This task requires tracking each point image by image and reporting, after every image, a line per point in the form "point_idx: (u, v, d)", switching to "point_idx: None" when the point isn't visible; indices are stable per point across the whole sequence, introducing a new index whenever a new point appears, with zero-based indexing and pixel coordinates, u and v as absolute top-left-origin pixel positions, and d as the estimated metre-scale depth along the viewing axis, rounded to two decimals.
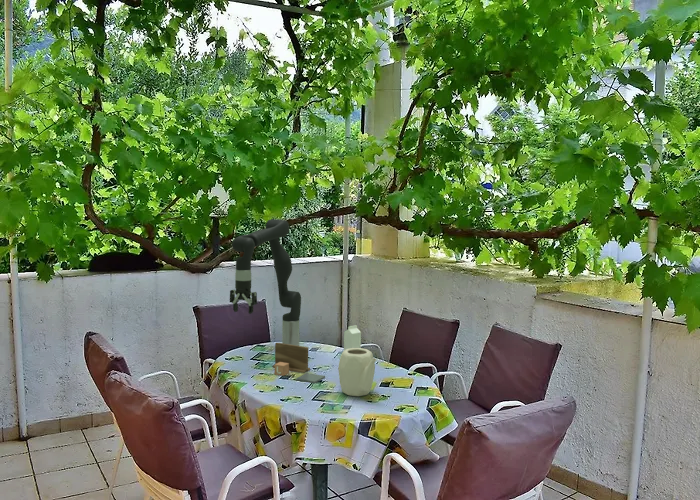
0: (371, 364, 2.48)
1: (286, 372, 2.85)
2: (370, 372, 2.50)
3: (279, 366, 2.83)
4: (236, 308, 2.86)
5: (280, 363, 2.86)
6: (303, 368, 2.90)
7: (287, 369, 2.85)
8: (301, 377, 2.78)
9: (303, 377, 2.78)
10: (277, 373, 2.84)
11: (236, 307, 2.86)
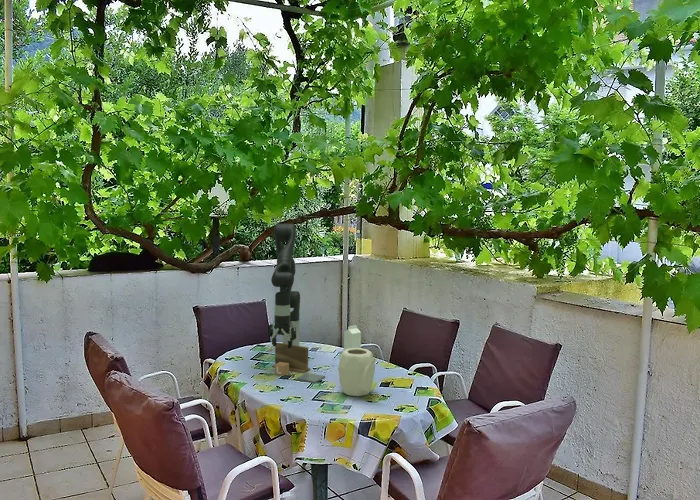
0: (371, 364, 2.48)
1: (286, 372, 2.85)
2: (370, 372, 2.50)
3: (279, 366, 2.83)
4: (275, 342, 2.86)
5: (280, 363, 2.86)
6: (303, 368, 2.90)
7: (287, 369, 2.85)
8: (301, 377, 2.78)
9: (303, 377, 2.78)
10: (277, 373, 2.84)
11: (275, 342, 2.86)
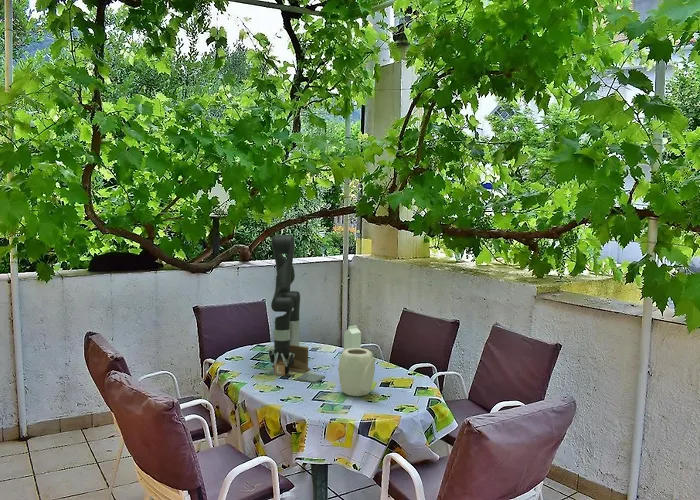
0: (371, 364, 2.48)
1: None
2: (370, 372, 2.50)
3: (279, 366, 2.83)
4: None
5: (280, 363, 2.86)
6: (303, 368, 2.90)
7: None
8: (301, 377, 2.78)
9: (303, 377, 2.78)
10: (277, 373, 2.84)
11: None
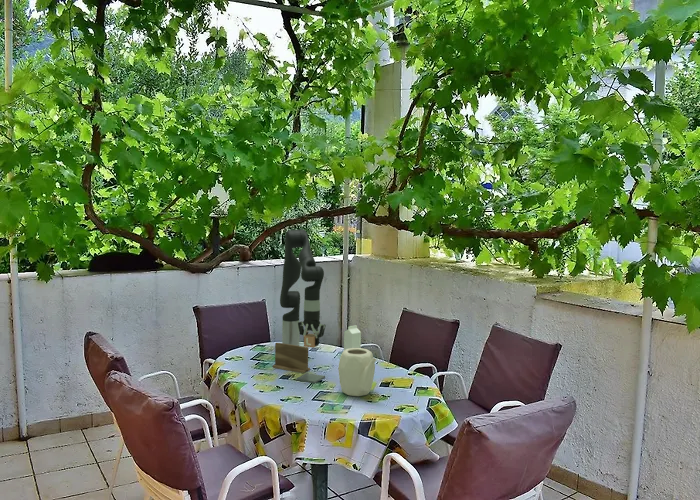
0: (371, 364, 2.48)
1: None
2: (370, 372, 2.50)
3: (309, 337, 2.75)
4: None
5: (310, 335, 2.77)
6: (303, 368, 2.90)
7: None
8: (301, 377, 2.78)
9: (303, 377, 2.78)
10: (307, 345, 2.75)
11: None
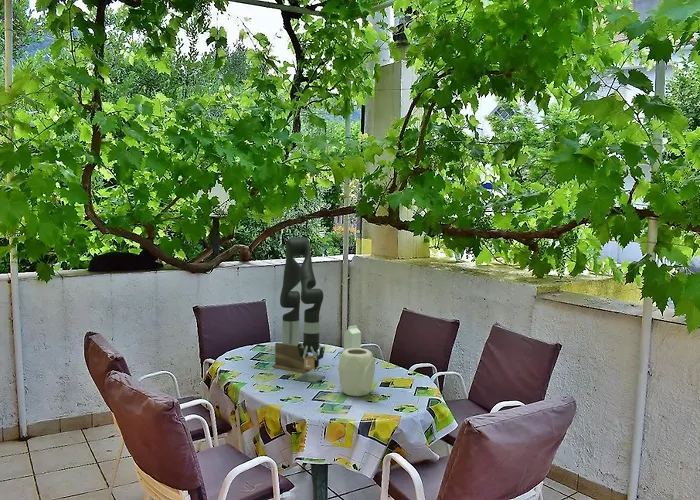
0: (371, 364, 2.48)
1: None
2: (370, 372, 2.50)
3: (308, 359, 2.75)
4: None
5: (309, 356, 2.78)
6: (303, 368, 2.90)
7: None
8: (301, 377, 2.78)
9: (303, 377, 2.78)
10: (306, 367, 2.76)
11: None
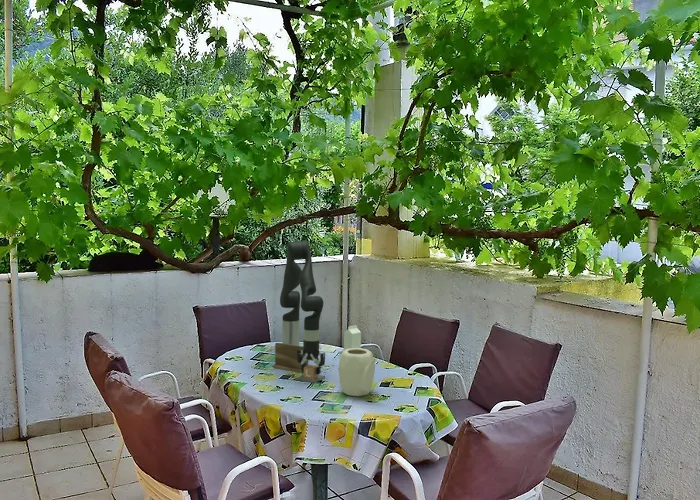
0: (371, 364, 2.48)
1: (315, 375, 2.78)
2: (370, 372, 2.50)
3: (308, 369, 2.76)
4: None
5: (309, 366, 2.79)
6: None
7: None
8: (301, 377, 2.78)
9: (303, 377, 2.78)
10: (306, 376, 2.77)
11: None
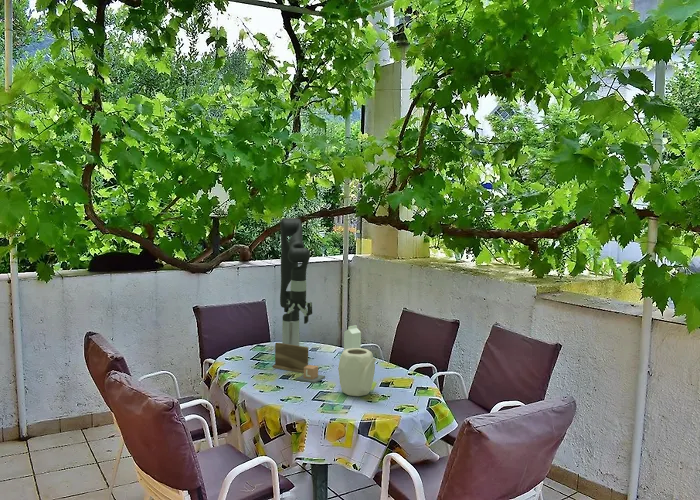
0: (371, 364, 2.48)
1: (315, 375, 2.78)
2: (370, 372, 2.50)
3: (308, 369, 2.76)
4: (290, 318, 2.88)
5: (309, 366, 2.79)
6: (303, 368, 2.90)
7: (316, 372, 2.79)
8: (301, 377, 2.78)
9: (303, 377, 2.78)
10: (306, 376, 2.77)
11: (291, 317, 2.88)
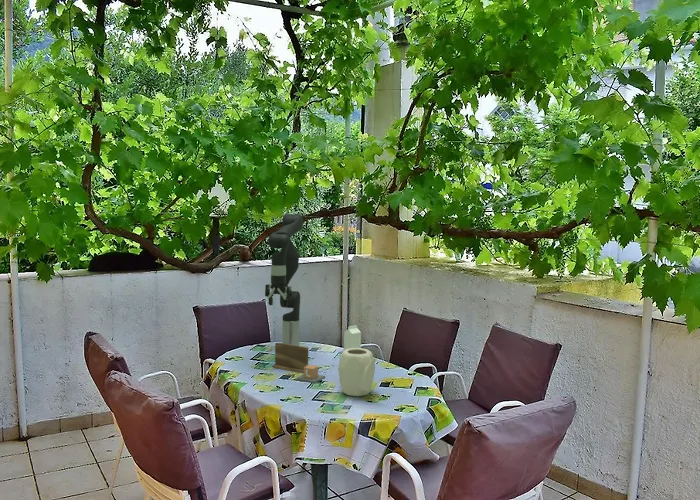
0: (371, 364, 2.48)
1: (315, 375, 2.78)
2: (370, 372, 2.50)
3: (308, 369, 2.76)
4: (271, 302, 2.99)
5: (309, 366, 2.79)
6: (303, 368, 2.90)
7: (316, 372, 2.79)
8: (301, 377, 2.78)
9: (303, 377, 2.78)
10: (306, 376, 2.77)
11: (271, 301, 2.99)
